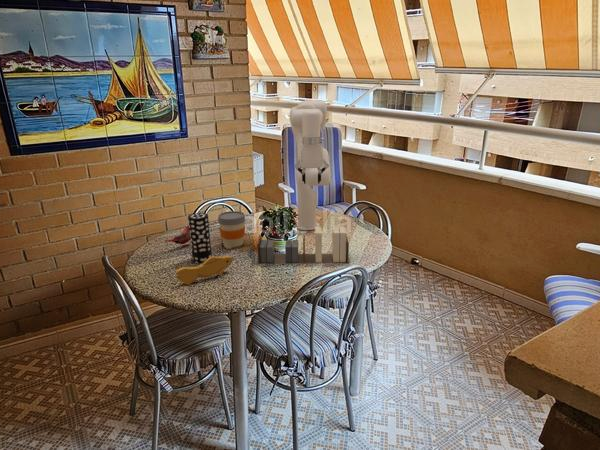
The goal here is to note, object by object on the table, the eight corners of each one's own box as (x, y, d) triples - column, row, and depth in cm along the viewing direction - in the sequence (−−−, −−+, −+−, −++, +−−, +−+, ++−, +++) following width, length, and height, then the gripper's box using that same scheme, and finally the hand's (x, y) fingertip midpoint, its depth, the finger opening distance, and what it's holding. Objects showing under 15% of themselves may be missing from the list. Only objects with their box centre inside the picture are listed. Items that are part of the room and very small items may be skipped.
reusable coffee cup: (229, 238, 201) (227, 209, 196) (251, 242, 196) (250, 212, 191) (214, 248, 190) (212, 217, 185) (237, 252, 185) (235, 220, 180)
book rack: (260, 256, 180) (259, 235, 177) (346, 255, 178) (347, 234, 175) (257, 265, 170) (256, 243, 167) (348, 265, 169) (349, 243, 165)
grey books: (262, 255, 179) (261, 240, 176) (298, 254, 178) (298, 239, 176) (260, 262, 171) (259, 247, 169) (298, 262, 170) (297, 247, 168)
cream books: (332, 254, 177) (332, 226, 173) (344, 254, 177) (344, 226, 173) (333, 262, 170) (333, 233, 165) (345, 262, 169) (346, 233, 165)
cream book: (315, 254, 177) (315, 226, 173) (321, 254, 177) (321, 226, 173) (315, 262, 170) (315, 233, 166) (321, 262, 170) (321, 233, 165)
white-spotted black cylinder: (215, 257, 180) (211, 214, 173) (204, 264, 173) (200, 220, 166) (200, 254, 184) (196, 212, 177) (188, 261, 176) (183, 217, 170)
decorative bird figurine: (198, 242, 197) (196, 223, 194) (167, 254, 185) (164, 233, 181) (195, 241, 199) (193, 221, 196) (163, 252, 186) (161, 232, 183)
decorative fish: (233, 267, 166) (226, 246, 162) (236, 270, 164) (229, 249, 159) (182, 291, 159) (173, 270, 154) (184, 294, 156) (175, 273, 152)
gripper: (331, 139, 175) (330, 180, 181) (291, 140, 176) (292, 181, 182) (332, 141, 168) (331, 184, 174) (290, 142, 169) (291, 185, 175)
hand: (311, 182), depth 178 cm, fingers open, 5 cm apart
